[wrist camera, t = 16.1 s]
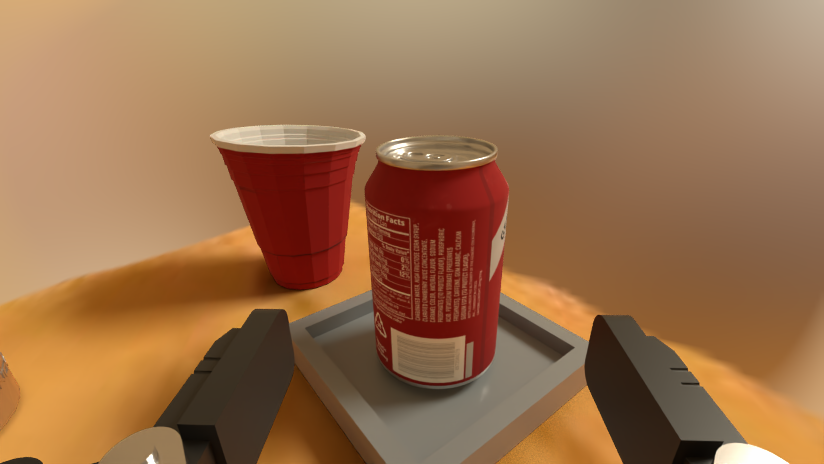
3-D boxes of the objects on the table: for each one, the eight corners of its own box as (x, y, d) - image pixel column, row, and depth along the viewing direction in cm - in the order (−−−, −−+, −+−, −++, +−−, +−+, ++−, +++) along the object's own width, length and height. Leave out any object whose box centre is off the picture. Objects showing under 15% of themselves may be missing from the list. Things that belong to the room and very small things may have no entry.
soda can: (475, 417, 19) (491, 174, 14) (354, 376, 22) (331, 158, 17) (505, 332, 25) (525, 137, 20) (406, 308, 27) (401, 129, 22)
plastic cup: (400, 268, 34) (395, 125, 29) (287, 328, 27) (255, 153, 22) (326, 233, 41) (312, 112, 36) (221, 273, 34) (185, 130, 29)
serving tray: (415, 532, 16) (414, 500, 15) (287, 352, 25) (282, 326, 24) (595, 377, 23) (602, 349, 22) (443, 282, 32) (443, 260, 31)
